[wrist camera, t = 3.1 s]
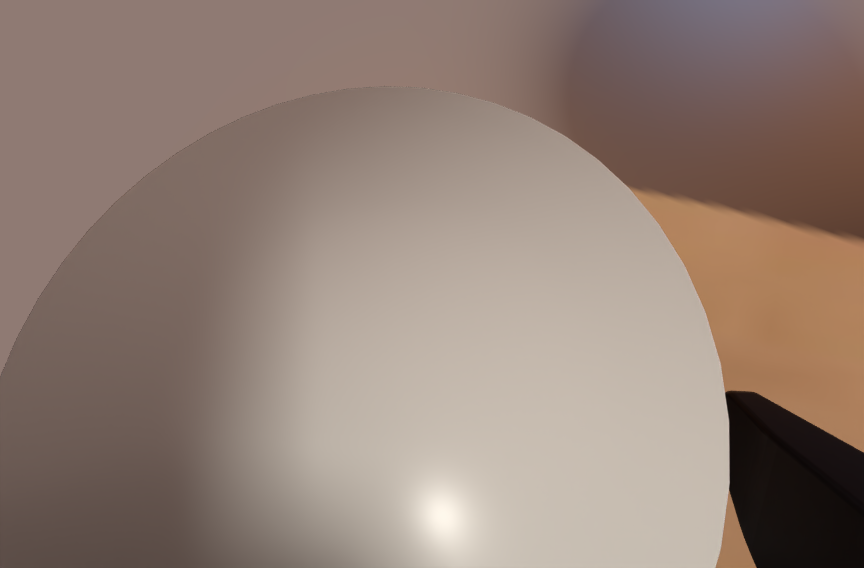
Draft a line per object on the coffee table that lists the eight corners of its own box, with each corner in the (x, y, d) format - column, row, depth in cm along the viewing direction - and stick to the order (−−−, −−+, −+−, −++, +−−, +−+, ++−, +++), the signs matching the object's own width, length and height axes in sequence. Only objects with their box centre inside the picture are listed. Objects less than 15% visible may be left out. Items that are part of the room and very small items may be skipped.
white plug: (567, 565, 14) (860, 1007, 2) (398, 558, 14) (-172, 835, 3) (553, 391, 15) (652, 52, 4) (404, 393, 16) (96, 118, 4)
